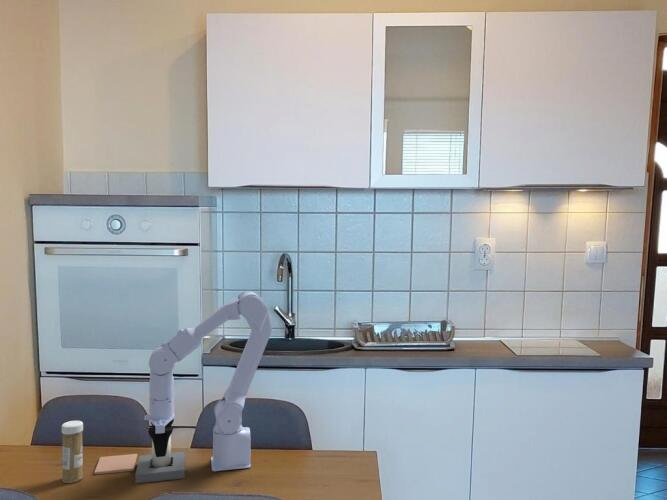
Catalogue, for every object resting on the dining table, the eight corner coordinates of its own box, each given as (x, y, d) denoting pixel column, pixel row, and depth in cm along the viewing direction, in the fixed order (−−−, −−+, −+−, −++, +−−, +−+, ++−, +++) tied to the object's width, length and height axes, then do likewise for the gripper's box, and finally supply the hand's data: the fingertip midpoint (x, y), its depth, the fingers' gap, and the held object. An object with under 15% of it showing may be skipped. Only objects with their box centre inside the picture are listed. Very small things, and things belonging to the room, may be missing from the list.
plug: (171, 458, 132) (171, 427, 132) (170, 466, 128) (170, 433, 128) (152, 460, 131) (152, 428, 131) (151, 468, 127) (151, 435, 126)
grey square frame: (184, 459, 136) (184, 451, 136) (184, 478, 126) (184, 469, 125) (139, 463, 133) (139, 455, 133) (135, 483, 123) (135, 474, 123)
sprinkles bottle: (84, 481, 123) (84, 424, 123) (62, 485, 121) (62, 428, 121) (81, 473, 127) (81, 418, 127) (60, 478, 125) (60, 422, 124)
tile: (137, 455, 138) (137, 453, 138) (133, 470, 129) (133, 468, 129) (100, 459, 135) (100, 457, 135) (94, 474, 127) (94, 472, 127)
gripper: (146, 389, 135) (146, 442, 135) (141, 407, 121) (141, 466, 121) (175, 388, 137) (175, 439, 137) (173, 405, 123) (173, 463, 123)
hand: (161, 452), depth 129 cm, fingers closed on plug, 4 cm apart
